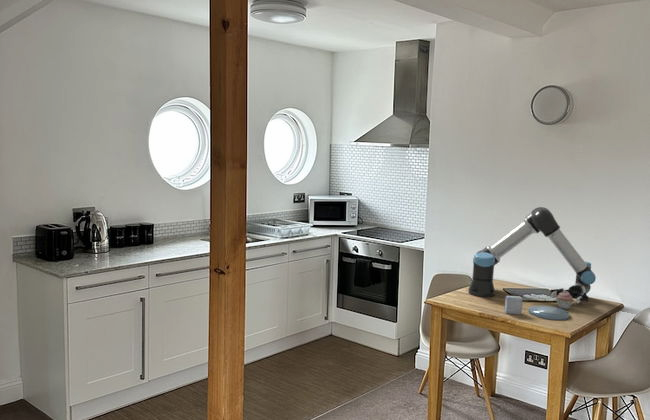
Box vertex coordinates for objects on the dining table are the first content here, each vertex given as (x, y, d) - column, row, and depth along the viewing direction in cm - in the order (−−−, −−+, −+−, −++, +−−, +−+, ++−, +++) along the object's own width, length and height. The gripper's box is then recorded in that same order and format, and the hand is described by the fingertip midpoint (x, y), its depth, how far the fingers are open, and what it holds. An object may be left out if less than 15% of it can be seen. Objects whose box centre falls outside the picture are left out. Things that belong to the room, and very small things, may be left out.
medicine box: (519, 312, 318) (520, 296, 317) (521, 314, 314) (522, 298, 313) (504, 311, 319) (505, 295, 318) (506, 313, 315) (507, 297, 314)
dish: (534, 318, 308) (534, 315, 308) (524, 307, 328) (524, 304, 327) (574, 321, 306) (574, 317, 306) (562, 309, 326) (562, 306, 326)
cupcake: (551, 307, 331) (552, 289, 330) (560, 304, 336) (562, 287, 335) (567, 311, 323) (568, 293, 322) (576, 308, 329) (578, 291, 328)
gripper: (598, 302, 337) (587, 309, 321) (553, 293, 352) (541, 300, 336) (600, 289, 336) (589, 296, 320) (555, 280, 351) (542, 286, 335)
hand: (564, 298), depth 328 cm, fingers open, 13 cm apart
